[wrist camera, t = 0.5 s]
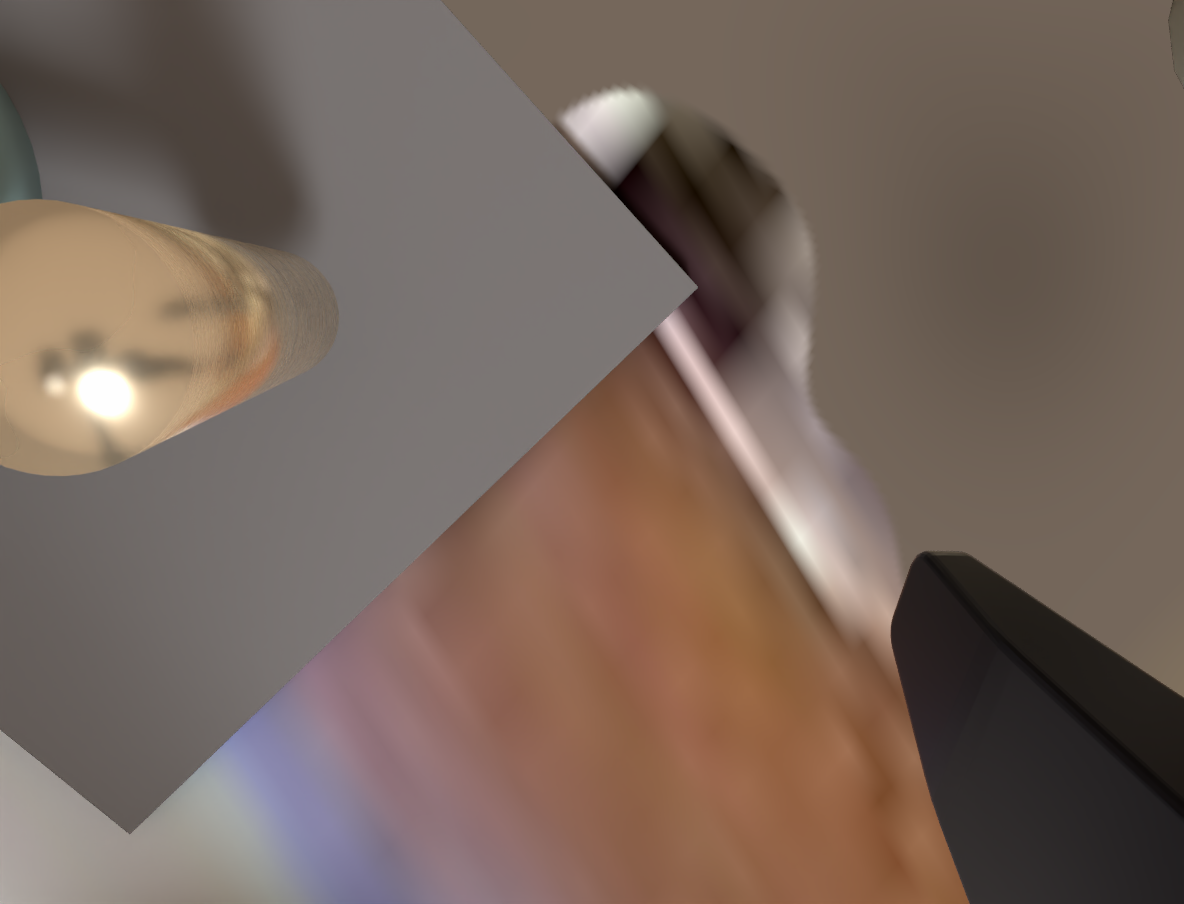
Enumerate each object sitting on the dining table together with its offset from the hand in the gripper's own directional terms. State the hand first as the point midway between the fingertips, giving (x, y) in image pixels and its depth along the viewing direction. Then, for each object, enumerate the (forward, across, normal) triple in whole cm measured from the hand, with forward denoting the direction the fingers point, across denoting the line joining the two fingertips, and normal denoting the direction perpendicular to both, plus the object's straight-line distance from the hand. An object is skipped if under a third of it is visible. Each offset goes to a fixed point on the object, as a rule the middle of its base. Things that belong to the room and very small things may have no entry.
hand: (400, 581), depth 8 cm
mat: (+15, +8, +4) cm, 18 cm away
